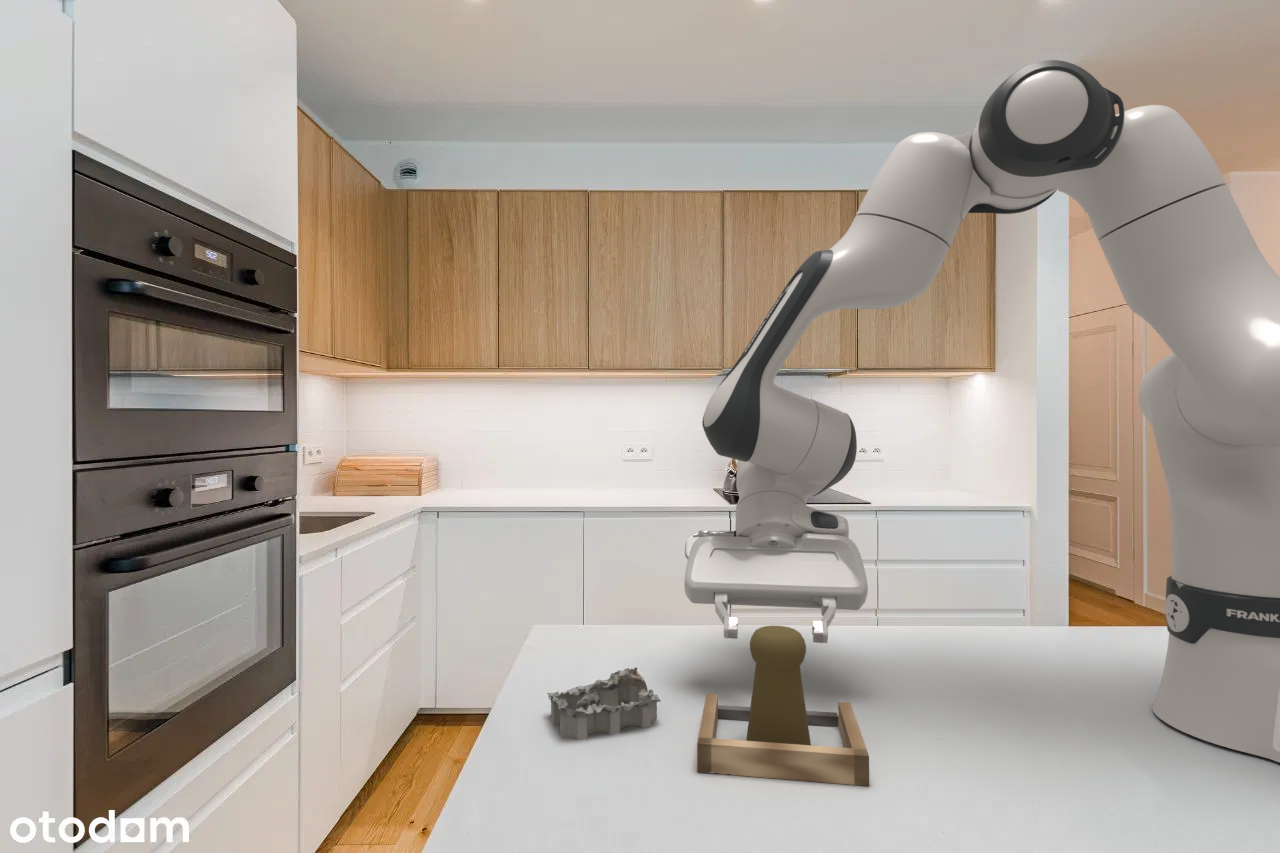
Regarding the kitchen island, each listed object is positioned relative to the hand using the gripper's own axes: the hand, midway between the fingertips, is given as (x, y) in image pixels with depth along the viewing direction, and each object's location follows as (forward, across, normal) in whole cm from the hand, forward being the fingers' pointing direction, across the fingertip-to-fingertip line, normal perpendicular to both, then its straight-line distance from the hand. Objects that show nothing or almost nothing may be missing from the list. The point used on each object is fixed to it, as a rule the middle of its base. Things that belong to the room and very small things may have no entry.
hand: (775, 638), depth 73 cm
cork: (+11, 0, 0) cm, 11 cm away
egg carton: (+10, -17, +2) cm, 20 cm away
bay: (+11, 0, -1) cm, 11 cm away
